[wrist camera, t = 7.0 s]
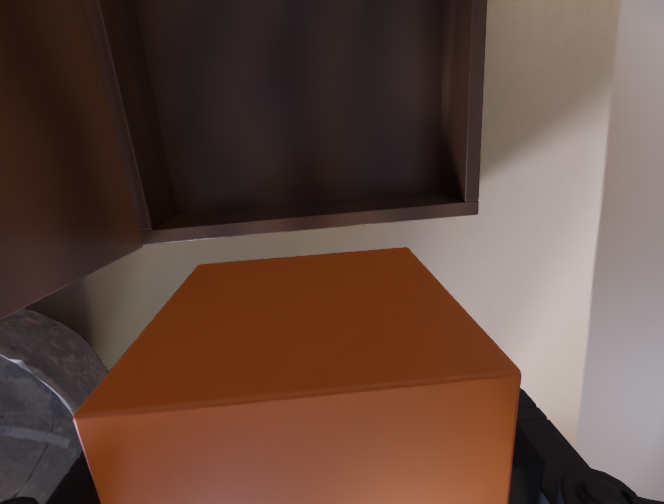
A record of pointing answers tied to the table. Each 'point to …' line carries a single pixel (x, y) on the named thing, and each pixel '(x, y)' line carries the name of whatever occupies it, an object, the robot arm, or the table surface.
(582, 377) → the table surface
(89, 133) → the lid
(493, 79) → the table surface
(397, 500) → the cube
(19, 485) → the bowl
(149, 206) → the box
